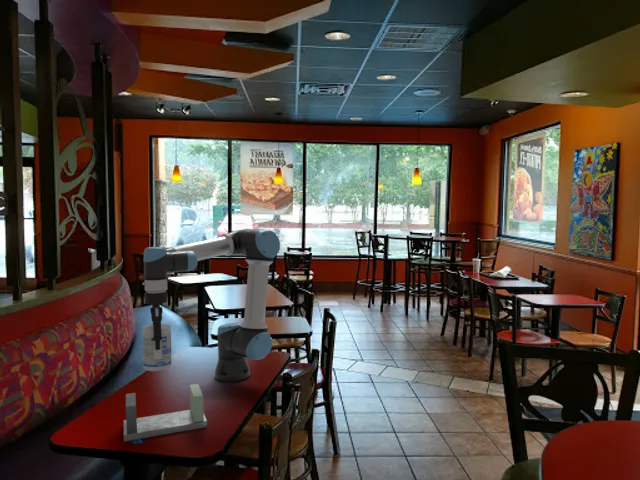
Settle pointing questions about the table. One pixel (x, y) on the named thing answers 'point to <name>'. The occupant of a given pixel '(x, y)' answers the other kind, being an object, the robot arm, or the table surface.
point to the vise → (156, 422)
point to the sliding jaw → (196, 403)
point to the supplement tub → (148, 353)
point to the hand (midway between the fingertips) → (157, 354)
